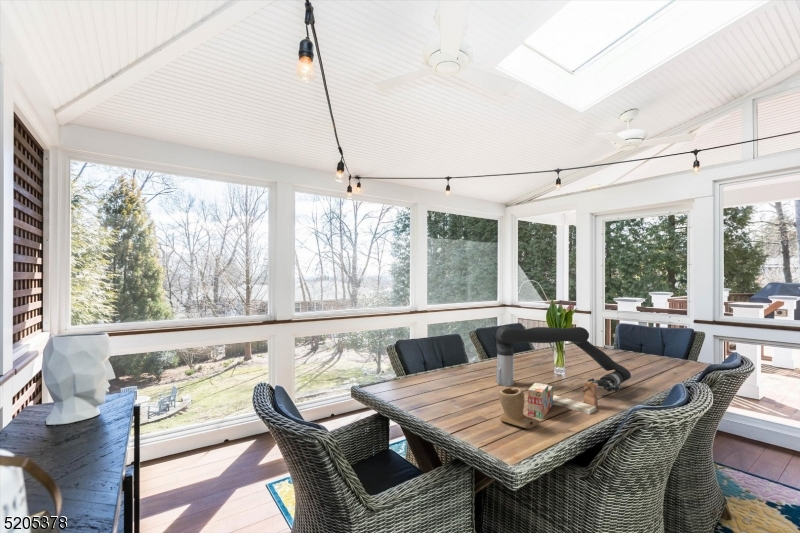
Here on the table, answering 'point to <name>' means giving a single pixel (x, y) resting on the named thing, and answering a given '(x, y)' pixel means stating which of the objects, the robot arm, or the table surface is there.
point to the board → (573, 405)
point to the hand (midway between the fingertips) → (598, 387)
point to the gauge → (591, 393)
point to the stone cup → (515, 408)
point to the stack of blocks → (539, 400)
